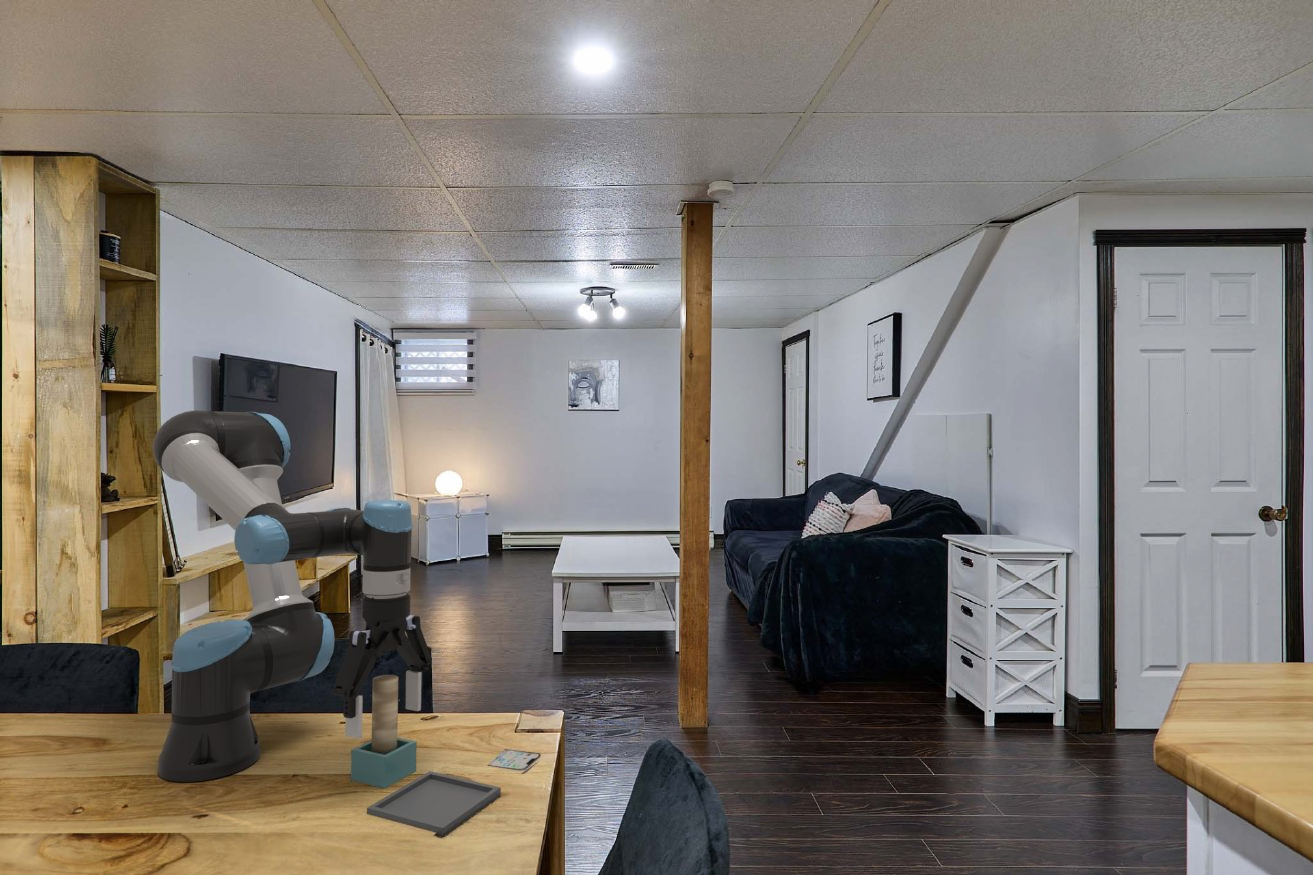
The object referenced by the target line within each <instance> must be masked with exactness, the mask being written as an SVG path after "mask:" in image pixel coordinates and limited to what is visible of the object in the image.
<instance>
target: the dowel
mask: <svg viewBox="0 0 1313 875" xmlns="http://www.w3.org/2000/svg"><path fill="white" fill-rule="evenodd" d="M371 696H372V700H371V701H372V704H371V705H372V706H371V740H372V751H371V752H375V753H379V754H384V755H386V754H388V753H390V752H392V751H394V750H396V749H397V737H398V721H399V720H398V719H399V718H398V717H399V713H398V712H399V709H398V708H399V676H397V675H395V674H383V675H381V674H380V675H378V676H374V677H373V678H372V695H371Z"/></svg>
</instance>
